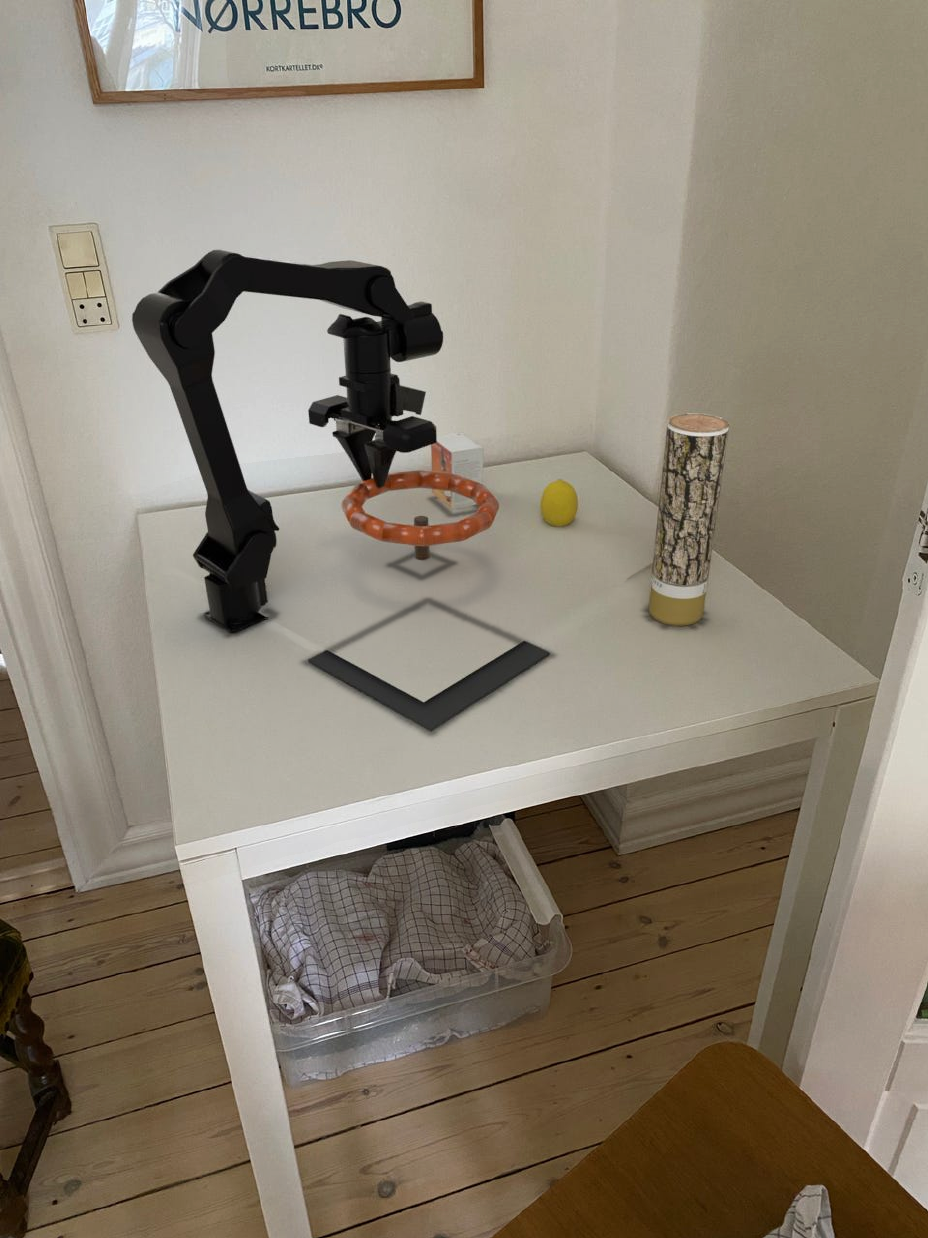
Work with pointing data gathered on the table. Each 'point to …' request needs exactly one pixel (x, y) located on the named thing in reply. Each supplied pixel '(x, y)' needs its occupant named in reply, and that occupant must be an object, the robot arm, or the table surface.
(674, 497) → the paper tube
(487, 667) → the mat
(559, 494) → the lemon
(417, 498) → the table surface
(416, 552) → the brown cylinder
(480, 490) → the ring
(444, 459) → the small box
